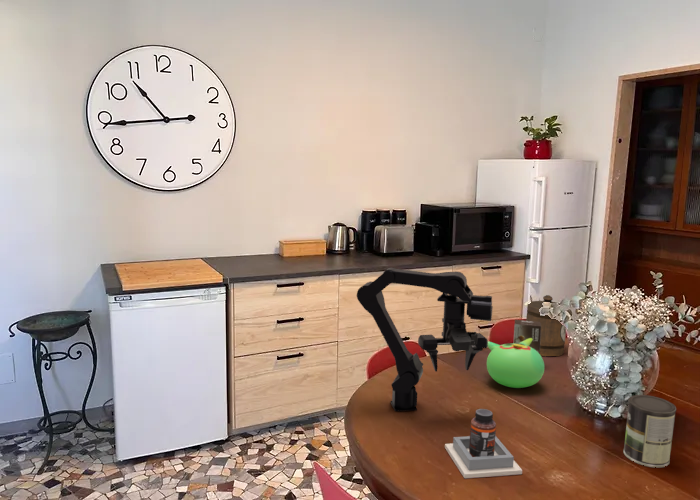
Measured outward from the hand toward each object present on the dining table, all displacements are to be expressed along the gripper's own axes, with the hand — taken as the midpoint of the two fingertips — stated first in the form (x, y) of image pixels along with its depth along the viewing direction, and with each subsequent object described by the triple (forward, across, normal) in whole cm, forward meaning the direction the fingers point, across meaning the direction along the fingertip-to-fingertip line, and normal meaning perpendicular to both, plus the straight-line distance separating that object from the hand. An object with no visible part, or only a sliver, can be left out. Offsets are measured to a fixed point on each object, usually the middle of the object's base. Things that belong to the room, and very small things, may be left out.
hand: (451, 370), depth 158 cm
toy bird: (+13, +28, +18) cm, 36 cm away
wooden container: (+13, +55, +49) cm, 75 cm away
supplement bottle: (+12, -1, -25) cm, 28 cm away
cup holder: (+13, 0, -26) cm, 29 cm away
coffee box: (+13, +40, +34) cm, 54 cm away
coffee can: (+13, +41, -29) cm, 52 cm away
